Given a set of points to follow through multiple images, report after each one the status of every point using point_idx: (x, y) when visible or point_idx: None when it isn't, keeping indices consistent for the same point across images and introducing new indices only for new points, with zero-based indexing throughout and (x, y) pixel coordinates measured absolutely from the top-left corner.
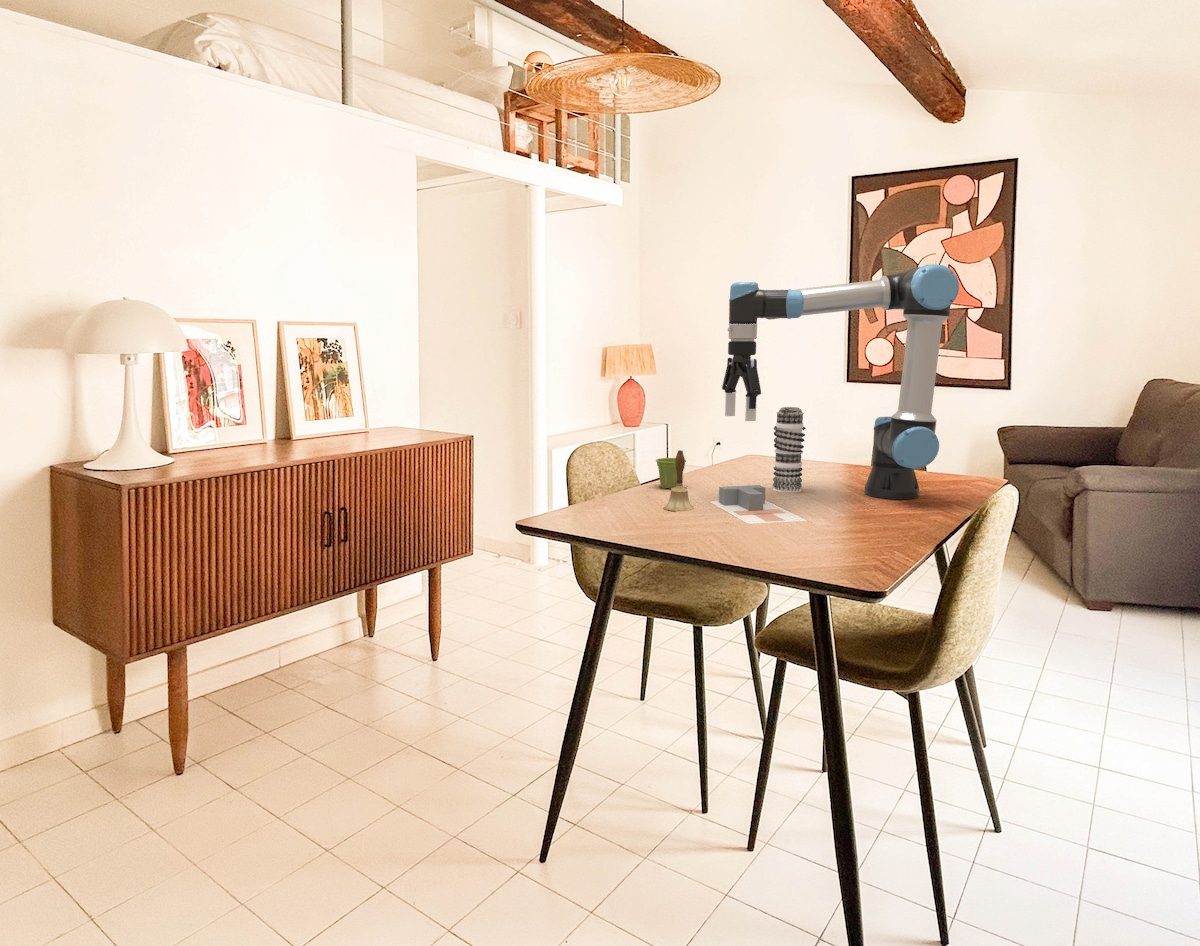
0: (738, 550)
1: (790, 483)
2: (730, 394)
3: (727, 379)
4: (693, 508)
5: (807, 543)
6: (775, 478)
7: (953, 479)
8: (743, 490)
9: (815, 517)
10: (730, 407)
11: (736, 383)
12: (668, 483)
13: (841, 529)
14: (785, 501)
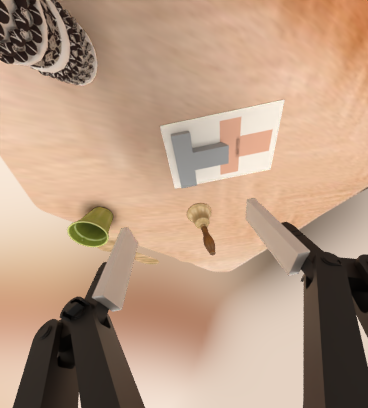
0: (329, 188)
1: (84, 47)
2: (115, 298)
3: (71, 398)
4: (204, 204)
5: (351, 131)
6: (72, 79)
7: None
8: (205, 165)
9: (269, 78)
10: (128, 254)
11: (108, 355)
12: (111, 220)
13: (336, 63)
14: (168, 91)
